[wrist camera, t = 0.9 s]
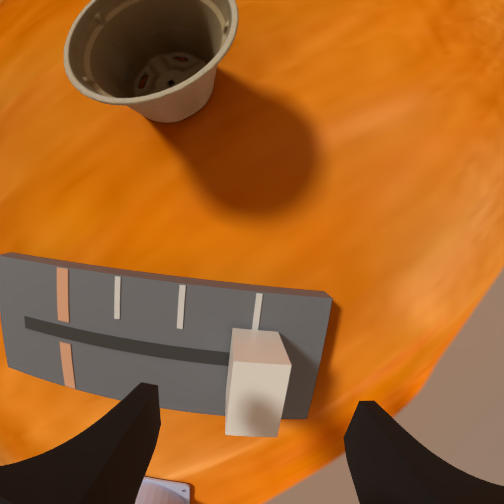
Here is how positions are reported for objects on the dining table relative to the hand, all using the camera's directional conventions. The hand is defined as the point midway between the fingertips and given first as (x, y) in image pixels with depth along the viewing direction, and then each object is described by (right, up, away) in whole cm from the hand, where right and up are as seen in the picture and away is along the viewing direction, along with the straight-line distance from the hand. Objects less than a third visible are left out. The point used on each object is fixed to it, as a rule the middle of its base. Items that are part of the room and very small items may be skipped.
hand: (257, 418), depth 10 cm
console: (-8, -1, +12) cm, 15 cm away
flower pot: (-6, +18, +11) cm, 22 cm away
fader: (0, -2, +11) cm, 11 cm away
